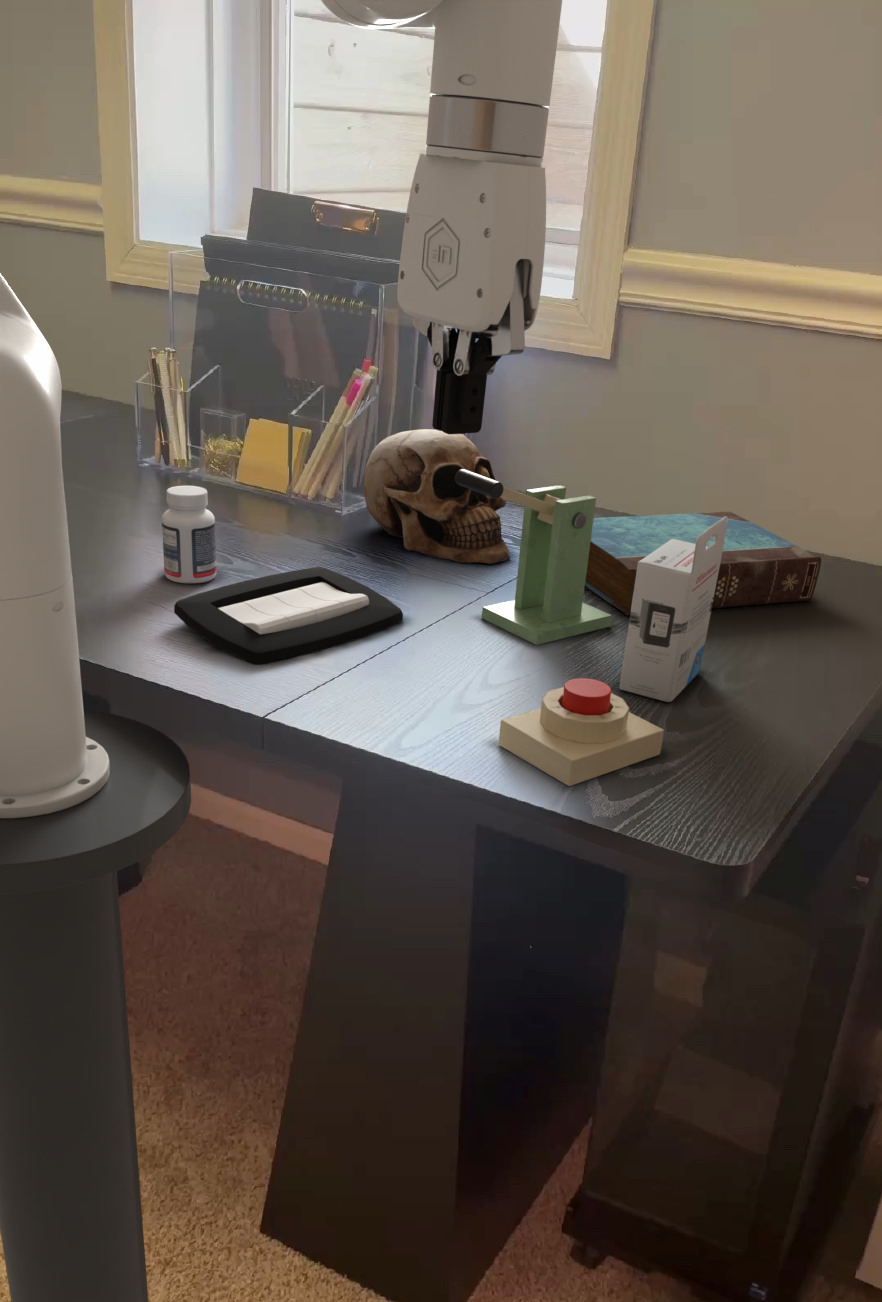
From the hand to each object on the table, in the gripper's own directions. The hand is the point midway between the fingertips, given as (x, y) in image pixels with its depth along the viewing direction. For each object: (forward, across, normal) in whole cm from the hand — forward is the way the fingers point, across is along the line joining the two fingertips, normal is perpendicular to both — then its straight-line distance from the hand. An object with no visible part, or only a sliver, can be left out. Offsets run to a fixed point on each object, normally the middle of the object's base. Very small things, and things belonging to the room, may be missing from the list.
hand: (456, 430), depth 84 cm
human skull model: (+23, -39, +32) cm, 55 cm away
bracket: (+23, -13, +25) cm, 36 cm away
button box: (+23, +9, +8) cm, 26 cm away
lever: (+11, -13, +19) cm, 26 cm away
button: (+19, +9, +8) cm, 23 cm away
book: (+22, -15, +47) cm, 54 cm away
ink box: (+23, +3, +24) cm, 33 cm away
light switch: (+24, -25, +3) cm, 35 cm away
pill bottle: (+24, -41, +1) cm, 47 cm away
